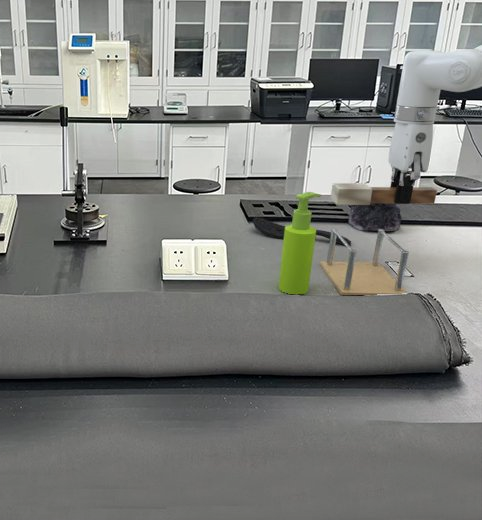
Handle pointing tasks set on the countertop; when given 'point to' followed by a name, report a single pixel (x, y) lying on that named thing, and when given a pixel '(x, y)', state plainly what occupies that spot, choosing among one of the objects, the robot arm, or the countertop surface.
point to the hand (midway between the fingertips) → (399, 200)
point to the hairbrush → (279, 230)
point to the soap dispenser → (298, 249)
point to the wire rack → (364, 270)
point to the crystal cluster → (375, 216)
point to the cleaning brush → (376, 194)
